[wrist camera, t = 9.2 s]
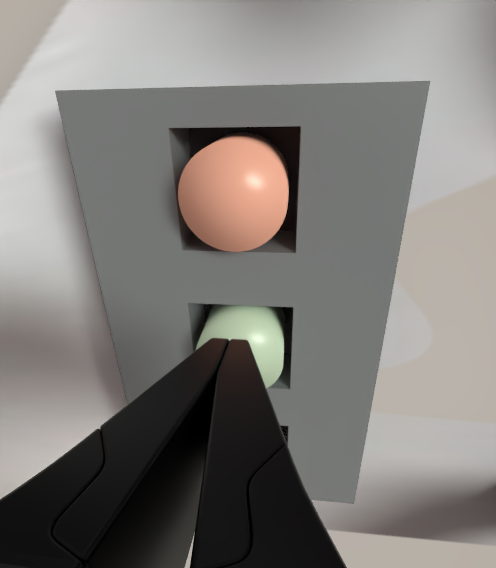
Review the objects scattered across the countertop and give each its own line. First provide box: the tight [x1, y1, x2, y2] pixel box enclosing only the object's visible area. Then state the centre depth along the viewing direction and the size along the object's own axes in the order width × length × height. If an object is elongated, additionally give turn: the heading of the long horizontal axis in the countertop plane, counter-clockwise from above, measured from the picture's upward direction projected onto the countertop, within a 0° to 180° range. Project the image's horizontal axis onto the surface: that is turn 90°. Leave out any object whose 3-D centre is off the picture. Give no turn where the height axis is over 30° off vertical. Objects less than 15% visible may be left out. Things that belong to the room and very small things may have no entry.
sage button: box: [196, 304, 285, 388], centre depth 20 cm, size 4×4×4 cm
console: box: [55, 81, 430, 504], centre depth 20 cm, size 14×24×3 cm, turn 1°
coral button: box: [178, 132, 289, 252], centre depth 16 cm, size 4×4×4 cm
